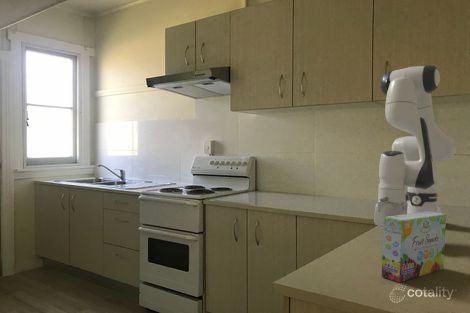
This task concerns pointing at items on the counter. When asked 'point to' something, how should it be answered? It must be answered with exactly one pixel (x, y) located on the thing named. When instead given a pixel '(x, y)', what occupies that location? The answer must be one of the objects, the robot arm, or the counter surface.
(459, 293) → the counter surface
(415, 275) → the snack box
